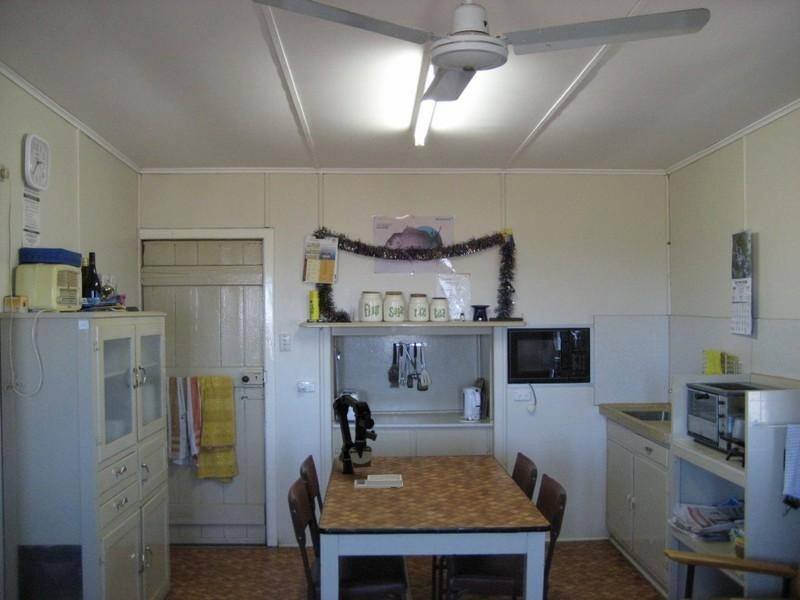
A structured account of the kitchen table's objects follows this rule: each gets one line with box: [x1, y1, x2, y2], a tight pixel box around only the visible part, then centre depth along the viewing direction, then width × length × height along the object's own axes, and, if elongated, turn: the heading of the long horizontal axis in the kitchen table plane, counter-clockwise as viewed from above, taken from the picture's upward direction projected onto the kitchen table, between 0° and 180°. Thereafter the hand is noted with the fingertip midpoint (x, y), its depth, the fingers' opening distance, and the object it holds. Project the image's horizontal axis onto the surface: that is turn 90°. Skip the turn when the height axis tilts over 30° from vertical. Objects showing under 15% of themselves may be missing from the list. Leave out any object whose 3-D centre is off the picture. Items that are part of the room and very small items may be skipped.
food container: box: [349, 445, 374, 470], centre depth 333 cm, size 12×6×10 cm, turn 92°
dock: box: [353, 474, 404, 489], centre depth 320 cm, size 12×24×4 cm, turn 93°
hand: (360, 456), depth 332 cm, fingers closed on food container, 6 cm apart
